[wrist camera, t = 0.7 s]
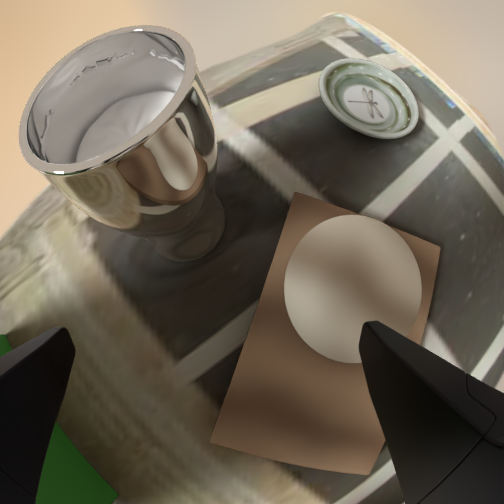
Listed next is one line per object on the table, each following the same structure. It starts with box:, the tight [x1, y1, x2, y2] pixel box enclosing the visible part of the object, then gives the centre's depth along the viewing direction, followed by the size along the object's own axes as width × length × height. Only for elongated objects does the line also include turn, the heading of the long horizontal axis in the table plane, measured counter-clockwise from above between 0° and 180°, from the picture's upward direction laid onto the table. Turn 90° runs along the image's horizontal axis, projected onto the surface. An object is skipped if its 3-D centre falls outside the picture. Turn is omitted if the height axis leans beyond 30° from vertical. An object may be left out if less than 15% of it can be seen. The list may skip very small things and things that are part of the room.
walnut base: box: [209, 192, 440, 475], centre depth 19 cm, size 18×12×2 cm, turn 161°
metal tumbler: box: [19, 25, 225, 262], centre depth 15 cm, size 7×7×15 cm
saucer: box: [319, 58, 419, 139], centre depth 24 cm, size 10×10×2 cm
